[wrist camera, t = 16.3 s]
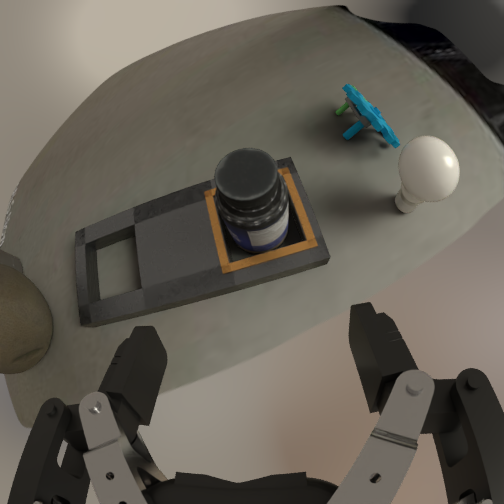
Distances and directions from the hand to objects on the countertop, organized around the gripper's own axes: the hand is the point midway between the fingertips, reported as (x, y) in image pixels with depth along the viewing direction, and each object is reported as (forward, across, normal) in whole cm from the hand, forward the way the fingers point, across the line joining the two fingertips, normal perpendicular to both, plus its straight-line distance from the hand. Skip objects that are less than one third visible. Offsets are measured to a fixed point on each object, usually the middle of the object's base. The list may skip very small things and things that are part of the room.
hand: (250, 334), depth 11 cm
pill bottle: (+20, 0, +4) cm, 20 cm away
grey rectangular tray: (+19, +8, +4) cm, 21 cm away
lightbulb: (+20, -17, +3) cm, 27 cm away
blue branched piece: (+29, -16, -5) cm, 33 cm away
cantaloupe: (+13, +33, +10) cm, 37 cm away
